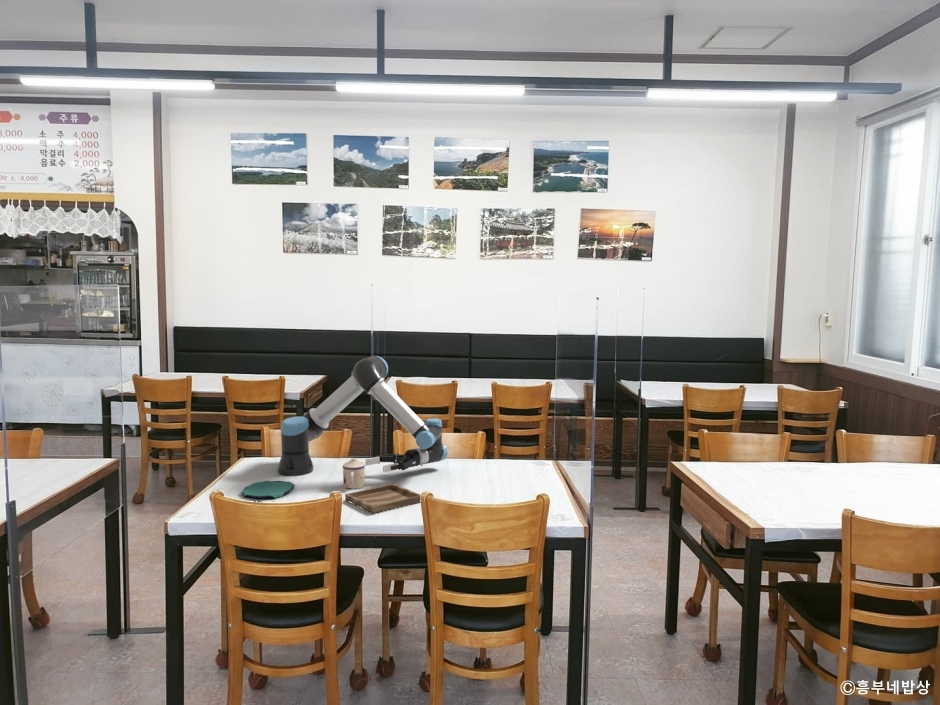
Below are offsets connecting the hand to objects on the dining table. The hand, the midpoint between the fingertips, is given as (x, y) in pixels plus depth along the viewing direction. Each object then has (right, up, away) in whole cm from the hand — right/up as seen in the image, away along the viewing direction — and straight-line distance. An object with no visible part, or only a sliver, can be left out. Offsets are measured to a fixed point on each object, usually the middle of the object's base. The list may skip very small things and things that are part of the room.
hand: (374, 465), depth 268 cm
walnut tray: (+7, -10, -23) cm, 26 cm away
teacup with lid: (-8, -8, -6) cm, 13 cm away
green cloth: (-41, -9, -17) cm, 46 cm away
